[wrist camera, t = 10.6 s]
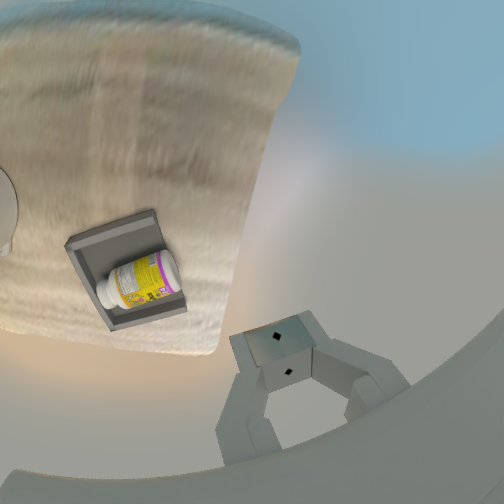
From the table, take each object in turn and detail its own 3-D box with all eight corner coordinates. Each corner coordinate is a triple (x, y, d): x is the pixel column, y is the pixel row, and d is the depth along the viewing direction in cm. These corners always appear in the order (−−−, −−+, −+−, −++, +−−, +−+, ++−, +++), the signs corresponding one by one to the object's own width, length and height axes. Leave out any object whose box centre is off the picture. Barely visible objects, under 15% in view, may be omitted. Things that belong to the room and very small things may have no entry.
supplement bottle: (185, 289, 43) (118, 313, 42) (172, 250, 44) (106, 276, 42) (178, 290, 37) (101, 317, 35) (163, 245, 37) (88, 275, 36)
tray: (112, 320, 46) (111, 331, 43) (69, 237, 36) (63, 246, 34) (185, 301, 48) (187, 311, 46) (153, 209, 39) (152, 216, 36)
